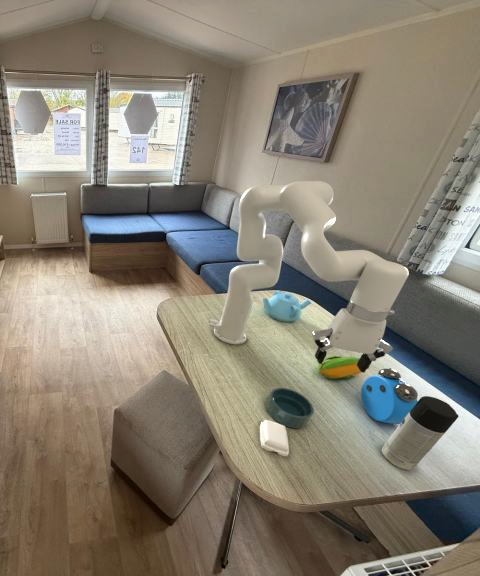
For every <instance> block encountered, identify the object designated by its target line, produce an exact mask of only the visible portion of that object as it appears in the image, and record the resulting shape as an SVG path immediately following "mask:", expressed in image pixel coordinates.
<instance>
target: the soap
mask: <svg viewBox="0 0 480 576" xmlns="http://www.w3.org/2000/svg"><path fill="white" fill-rule="evenodd" d="M286 427H287V426H285V425H283V424H281V423H279V422H274V421H271V420H267V419H264V420H263V421H261V423H260V426H259V440H260V441H259V442H260V446H261V449H263V450H266V451H268V452H271V453H272V452H275V453H277V455H279V456H282V457H289V453H290V449H289V447H290V446H289V438H288V432H287V428H286Z"/></svg>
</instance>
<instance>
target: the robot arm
mask: <svg viewBox="0 0 480 576" xmlns="http://www.w3.org/2000/svg"><path fill="white" fill-rule="evenodd" d="M333 199H334V189H333V187H332V185H330V184H329V183H327V182H326V181H322V180H299V181H294V182H291V183H288V184H261V185H255V186H251V187H250V188H248V189H247V190H245V192H243V194H242V195H241V197H240V200H239V204H238V215H239V227H238V235H237V245H236V256H237V258H238V259H239V260H240V261H242V262H258V263H248V264H239V265H237V266H235V267H233V268H232V269H231V270H230V272H229V274H228V275H229V276H228V289H227V294H226V297H225V302H224V306H223V310H222V314H221V318H220V320H215V319H214V318H213V319H212V318H209V320H208V324H210V325H209V327H212V328H213V334H214V336H215V337H216V338H217V339H218V340H220V341H221V342H224V343H225V344H229V345H242V344H244V343H245V342H246V341H247V338H248V337H247V334H246V333H245V330H246V327H247V323H248V321H249V317H250V315H251V310H252V307H253V305H254V297H253V295H252V291H255V290H261V289H269V288H272V287H274V286H275V285H277V283H278V281H279V278H280V274H281V267H282V261H283V255H284V245H283V242H282V239H281V238H280V237H279V236H277V235H276V234H272V233H267V234H266V229H267V221H266V218H265V215H264V214H263V212H286V213H287V214H288V215H289V217H290V218H291V220H292V221H293V222H294V224H295V225H296V226H297V228H298V229H299V230H300V232H301V233H302V235H301V238H300V239H301V240H300V248H301V254H302V257H303V259H304V260H305V263H307V265H308V266H309V267H310V268H311V270H312V271H313V272H314V274H315V275H316V276H317V277H318V278H320V279H322V280H324V281H326V282H331V283H335V282H345V281H347V282H348V281H357V284H356V286H355V287H354V290H353V292H352V294H351V297H350V299H349V301H348V303H347V305H346V307H345V308H344V307H342V308H340V310H339V311H338V312H337V313H336V314H335V316H334V317H333V319H332V320H331V322H330V324H329V325H328V327H327V328H326V329H325V328H324V329H319V330H314V331H312V332H311V336H312V338H313V342H314V343H315V345H316V346H317V349H316V351H315V353H314V358H315V359H316V362H317V363H318V365H319V364H322V363H324V362H325V361H324V359H325V358H326V357H327V351H328V350H331V349H333V348H334V349H338V350H344V351H349V352H355V353H358V354H359V353H360V354H361V356H360V357H359V358H360V359H359V361H358V363H357V366H358V368H359V370H360V371H361V373H363V374H364V373H366V371H367V370H368V369H370V366H371V364H372V362H376V361H377V359H380V358H383V357H385V356H386V354H389V353H390V352H392V351H393V350H394V347H392V346H391V344H389V343H388V342H386V341H385V340H383V337H384V335H385V331H386V326H387V318H388V317H389V316H394V315H395V312H396V311H395V310H394V309H391V308H392V306H393V305H394V303H395V301H396V299H397V297H398V295H399V294H400V292H401V290H402V288H403V287H404V284H405V283H406V281H407V279H408V277H409V274H410V273H409V270H408V268H407V267H406V266H404V265H402V264H400V263H397V262H393V261H390V260H386V259H384V258H382V257H381V256H380V255H378V254H376V253H374V252H372V251H369V250H366V249H352V250H351V249H350V250H335V249H334V247H333V246H332V245H331V244H330V243H329V241H328V240H327V238H326V237H325V234H324V233H325V232H326V231H328V230H329V229H330V228H331V227H332V226H334V224H335V222H336V220H337V215H336V213H335V212H334V211H333V210H332V209H331V207H330V206H329V205H330V204H332V202H333ZM323 337H324V339H322V340H321V338H323ZM379 346H380V348H379ZM323 361H324V362H323ZM366 369H367V370H366Z"/></svg>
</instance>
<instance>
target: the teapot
mask: <svg viewBox="0 0 480 576" xmlns="http://www.w3.org/2000/svg"><path fill="white" fill-rule="evenodd" d="M262 302H263V308H264V311H265V313H266V314H267V315H268V316H269V317H270V318H271V319H273V320H276V321H279V322H283V323H293V322H295V321H298V320H299V319H300V318H301V316H302V310H303V309H305V308H306V307H308V306H309V305H311V304H312V302H311V301H310V300H308V298H307V299H305V300H304V301H303V302H301V303H300V301H299V299H298V298H297V297H296V296H295V295H293V294H292V293H290V292H282V291H281V290H275V292H274V293H273V296H272V297H270V298H269V299H268V297H262Z"/></svg>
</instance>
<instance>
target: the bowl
mask: <svg viewBox="0 0 480 576" xmlns="http://www.w3.org/2000/svg"><path fill="white" fill-rule="evenodd" d="M265 406H266V411H267V412H268V414H269V415H270V416H271V417H272V418H273V419H274V420H275V421H277V423H279V424H281V425H283V426H285V427H288V428H291V429H303V428H306V427H307V426H308V424H309V423H310V421H311V419H312V417H313V415H314V411H315V409H314V406H313V404H312V402H311V401H310V400H309V399H308V398H307V397H305V396H304V395H303V394H302V393H299V392H298V391H296V390H293V389H291V388H287V387H276V388H274V389H272V390H271V391H270V394H269V396H268V399H267V402H266V405H265Z"/></svg>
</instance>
